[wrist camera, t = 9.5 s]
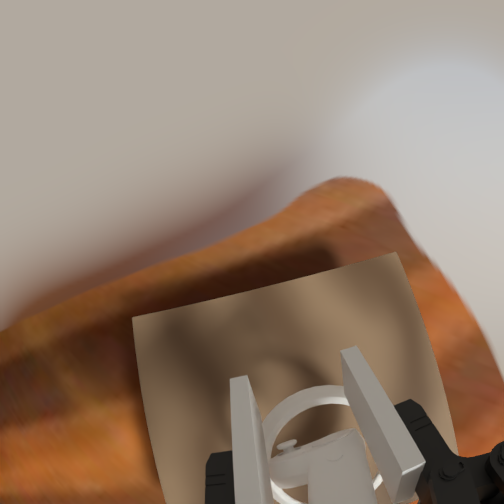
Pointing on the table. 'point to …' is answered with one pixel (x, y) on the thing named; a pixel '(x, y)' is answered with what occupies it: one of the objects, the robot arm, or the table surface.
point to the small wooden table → (280, 365)
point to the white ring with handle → (319, 456)
